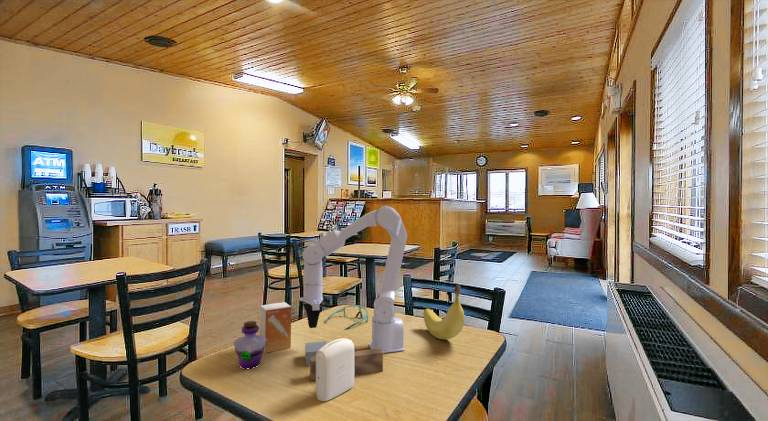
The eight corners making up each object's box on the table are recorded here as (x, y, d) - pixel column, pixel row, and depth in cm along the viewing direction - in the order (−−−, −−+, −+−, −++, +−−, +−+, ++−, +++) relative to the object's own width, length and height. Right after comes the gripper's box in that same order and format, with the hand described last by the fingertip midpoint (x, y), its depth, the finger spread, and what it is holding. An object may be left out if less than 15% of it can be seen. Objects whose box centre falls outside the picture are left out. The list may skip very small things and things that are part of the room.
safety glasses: (375, 321, 144) (374, 308, 143) (348, 336, 132) (347, 322, 131) (348, 314, 152) (347, 302, 152) (320, 327, 141) (319, 314, 140)
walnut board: (379, 366, 104) (379, 348, 104) (382, 371, 101) (382, 352, 101) (309, 375, 98) (309, 356, 98) (311, 380, 95) (311, 361, 95)
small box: (265, 353, 112) (265, 310, 111) (259, 346, 117) (259, 305, 117) (291, 348, 116) (291, 306, 116) (284, 341, 122) (284, 301, 121)
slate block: (325, 354, 112) (326, 341, 112) (328, 364, 105) (328, 350, 105) (305, 356, 111) (305, 342, 111) (306, 366, 104) (306, 352, 104)
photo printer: (325, 404, 85) (325, 349, 84) (312, 397, 87) (313, 344, 87) (357, 387, 92) (357, 337, 92) (344, 381, 95) (345, 333, 95)
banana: (418, 328, 135) (419, 273, 135) (432, 326, 137) (433, 272, 137) (452, 352, 114) (453, 287, 114) (468, 349, 116) (469, 285, 116)
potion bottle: (233, 374, 98) (233, 328, 98) (233, 361, 106) (233, 319, 106) (267, 369, 102) (267, 325, 101) (265, 356, 110) (265, 315, 109)
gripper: (297, 279, 121) (297, 320, 122) (302, 289, 107) (301, 336, 108) (319, 278, 123) (319, 319, 124) (326, 288, 110) (326, 334, 110)
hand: (312, 327), depth 116 cm, fingers closed
